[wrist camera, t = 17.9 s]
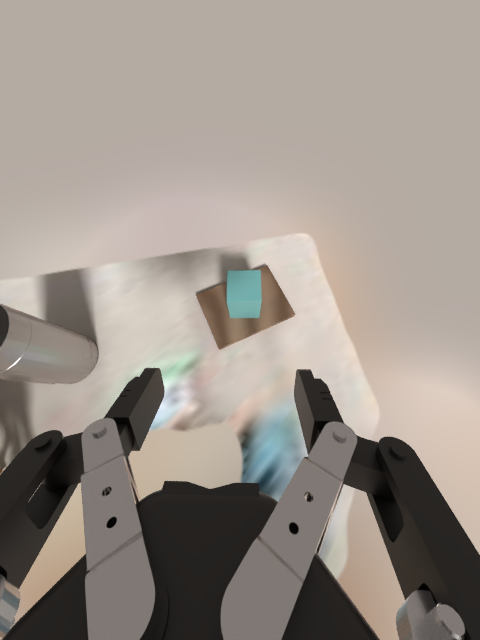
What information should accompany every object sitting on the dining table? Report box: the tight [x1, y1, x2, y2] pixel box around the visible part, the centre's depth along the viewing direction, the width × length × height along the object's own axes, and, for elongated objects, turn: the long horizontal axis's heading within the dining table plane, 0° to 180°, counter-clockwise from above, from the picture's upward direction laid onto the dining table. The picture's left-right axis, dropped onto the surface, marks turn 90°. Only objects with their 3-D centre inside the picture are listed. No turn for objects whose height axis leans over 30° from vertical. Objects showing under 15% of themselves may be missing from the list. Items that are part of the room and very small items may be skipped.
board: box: [196, 266, 295, 350], centre depth 45 cm, size 16×12×1 cm
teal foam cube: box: [227, 270, 262, 318], centre depth 41 cm, size 6×6×8 cm
